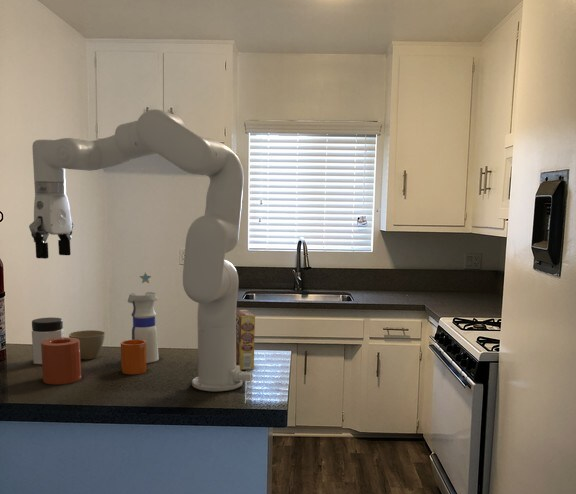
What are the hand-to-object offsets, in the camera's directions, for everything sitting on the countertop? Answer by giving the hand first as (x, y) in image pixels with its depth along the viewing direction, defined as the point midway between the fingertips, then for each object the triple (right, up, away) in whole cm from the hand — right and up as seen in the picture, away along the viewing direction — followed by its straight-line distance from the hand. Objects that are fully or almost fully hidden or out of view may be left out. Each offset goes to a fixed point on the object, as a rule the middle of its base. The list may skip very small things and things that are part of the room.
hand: (53, 256), depth 163 cm
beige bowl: (+2, -28, +21) cm, 35 cm away
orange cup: (+19, -30, +6) cm, 37 cm away
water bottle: (+19, -29, +19) cm, 39 cm away
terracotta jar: (+3, -32, -2) cm, 32 cm away
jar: (-7, -29, +16) cm, 34 cm away
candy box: (+49, -30, +13) cm, 58 cm away
